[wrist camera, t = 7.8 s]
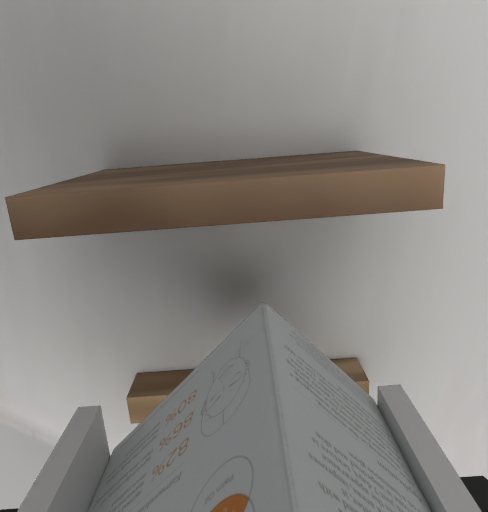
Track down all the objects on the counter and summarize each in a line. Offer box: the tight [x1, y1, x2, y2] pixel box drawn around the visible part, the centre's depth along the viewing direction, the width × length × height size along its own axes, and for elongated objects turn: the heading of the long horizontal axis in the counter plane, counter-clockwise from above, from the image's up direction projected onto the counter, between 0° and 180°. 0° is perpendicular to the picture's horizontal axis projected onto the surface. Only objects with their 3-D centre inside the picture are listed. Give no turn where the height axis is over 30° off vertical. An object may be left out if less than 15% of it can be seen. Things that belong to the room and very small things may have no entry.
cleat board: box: [5, 151, 445, 424], centre depth 24 cm, size 17×16×12 cm
